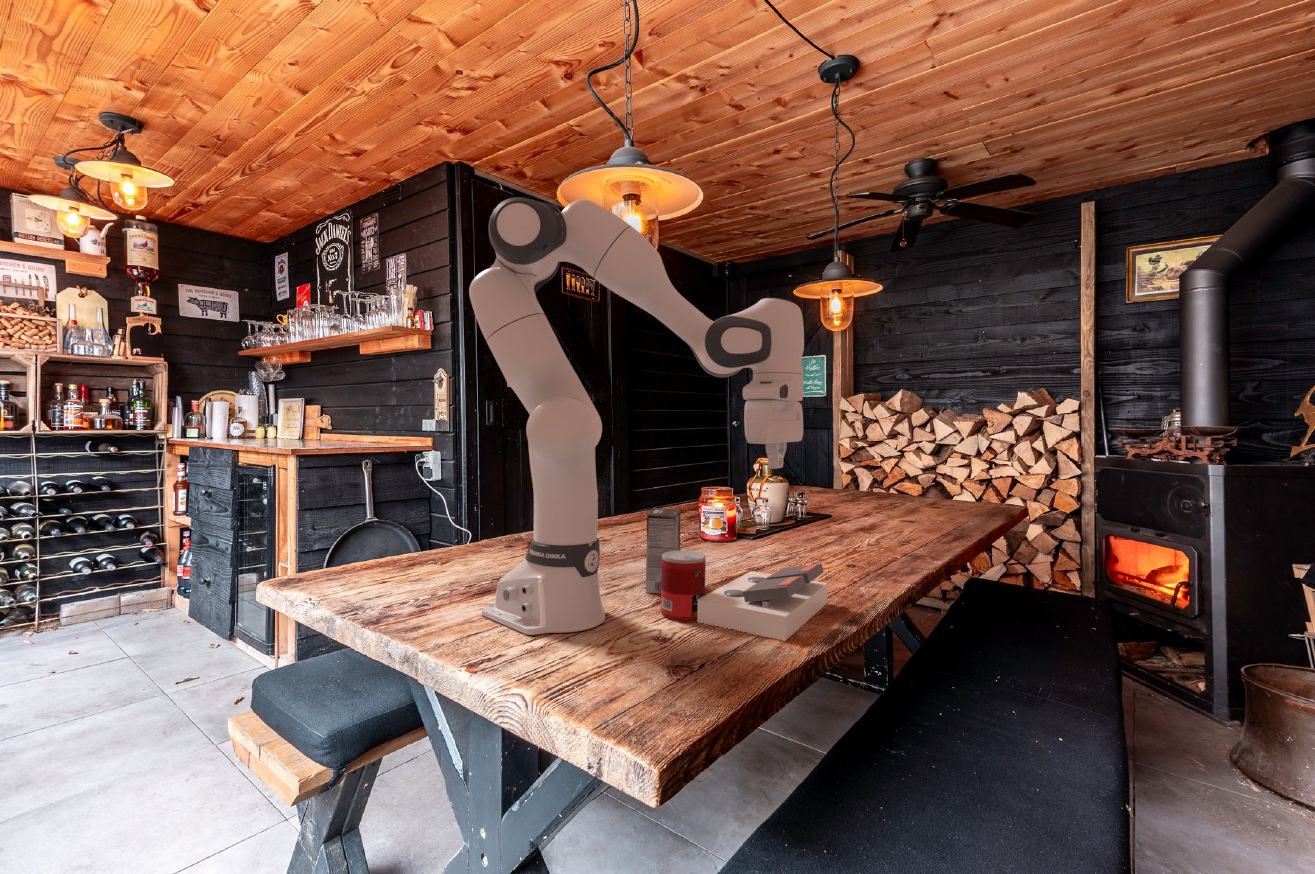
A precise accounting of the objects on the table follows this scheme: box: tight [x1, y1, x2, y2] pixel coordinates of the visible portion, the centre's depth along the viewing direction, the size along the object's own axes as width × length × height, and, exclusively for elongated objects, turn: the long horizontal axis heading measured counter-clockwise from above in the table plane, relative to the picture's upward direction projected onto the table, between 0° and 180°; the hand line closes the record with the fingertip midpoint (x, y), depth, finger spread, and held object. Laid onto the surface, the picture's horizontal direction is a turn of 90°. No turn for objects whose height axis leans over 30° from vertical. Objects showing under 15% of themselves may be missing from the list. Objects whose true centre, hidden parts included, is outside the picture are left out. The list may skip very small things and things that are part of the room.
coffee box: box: [645, 507, 682, 595], centre depth 127 cm, size 9×6×16 cm
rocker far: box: [766, 562, 824, 583], centre depth 116 cm, size 8×9×2 cm
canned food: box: [660, 550, 707, 622], centre depth 110 cm, size 8×8×11 cm
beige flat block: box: [696, 570, 828, 642], centre depth 112 cm, size 16×24×5 cm, turn 149°
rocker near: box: [743, 576, 806, 602], centre depth 106 cm, size 8×9×2 cm
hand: (775, 468), depth 109 cm, fingers closed
